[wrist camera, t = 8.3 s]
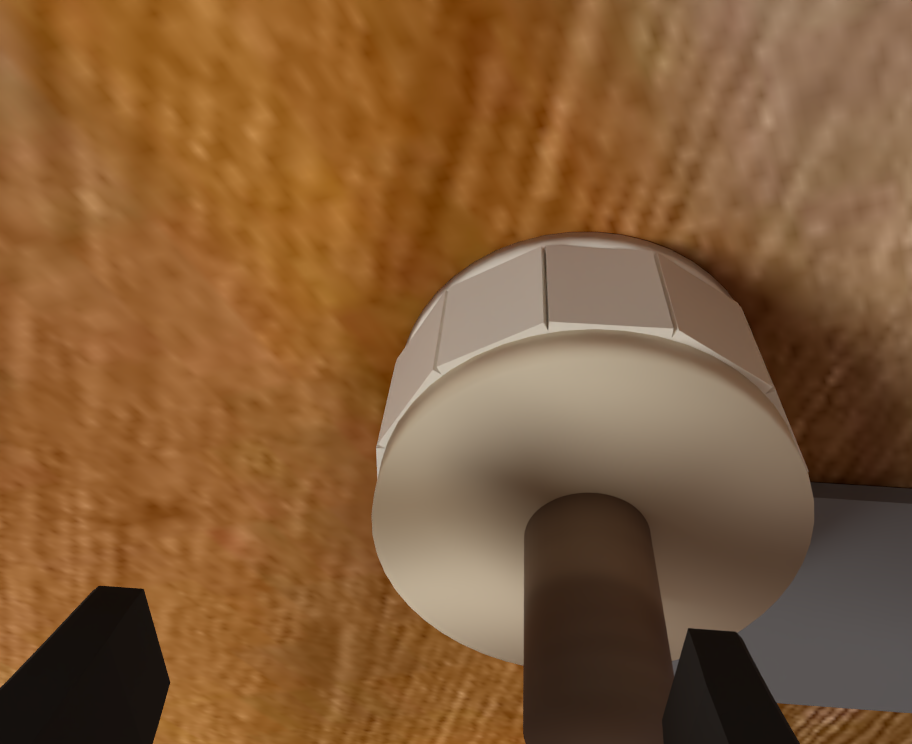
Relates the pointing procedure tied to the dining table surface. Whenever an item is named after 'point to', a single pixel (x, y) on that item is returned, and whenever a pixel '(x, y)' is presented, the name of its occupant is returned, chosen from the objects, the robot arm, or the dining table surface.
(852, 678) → the mat
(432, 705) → the dining table surface
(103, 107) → the dining table surface
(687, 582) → the lid
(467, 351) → the bowl
